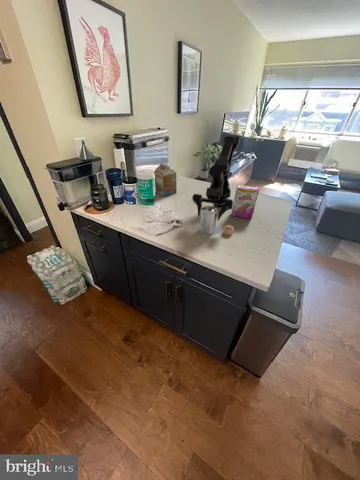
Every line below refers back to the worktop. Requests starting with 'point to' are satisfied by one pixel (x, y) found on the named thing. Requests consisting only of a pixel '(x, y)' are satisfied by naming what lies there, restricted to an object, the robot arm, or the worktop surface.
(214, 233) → the slate mat
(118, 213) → the worktop surface
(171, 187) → the milk carton
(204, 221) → the white can
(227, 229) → the orange rounded ball
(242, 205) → the candy bar box
